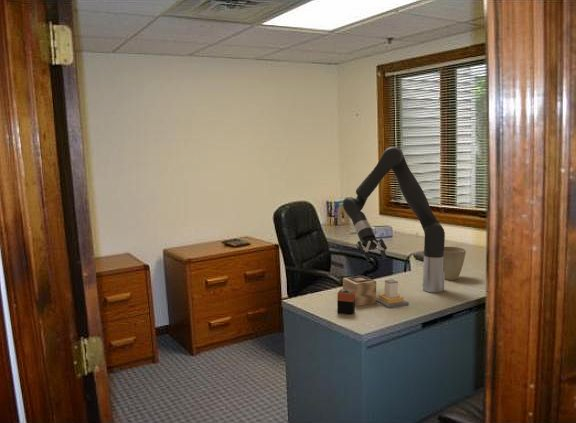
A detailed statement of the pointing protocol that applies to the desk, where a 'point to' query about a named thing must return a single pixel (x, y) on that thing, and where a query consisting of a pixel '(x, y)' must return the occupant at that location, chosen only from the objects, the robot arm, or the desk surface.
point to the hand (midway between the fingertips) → (377, 259)
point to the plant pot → (453, 262)
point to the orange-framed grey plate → (391, 301)
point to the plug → (391, 289)
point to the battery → (346, 302)
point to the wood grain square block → (361, 289)
